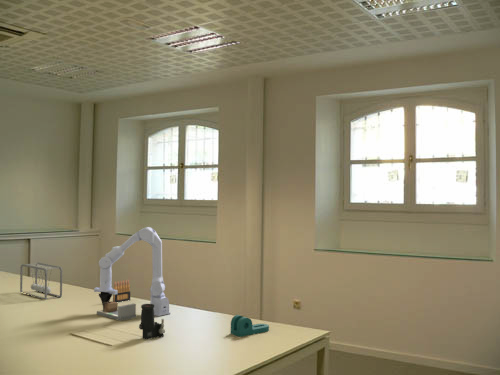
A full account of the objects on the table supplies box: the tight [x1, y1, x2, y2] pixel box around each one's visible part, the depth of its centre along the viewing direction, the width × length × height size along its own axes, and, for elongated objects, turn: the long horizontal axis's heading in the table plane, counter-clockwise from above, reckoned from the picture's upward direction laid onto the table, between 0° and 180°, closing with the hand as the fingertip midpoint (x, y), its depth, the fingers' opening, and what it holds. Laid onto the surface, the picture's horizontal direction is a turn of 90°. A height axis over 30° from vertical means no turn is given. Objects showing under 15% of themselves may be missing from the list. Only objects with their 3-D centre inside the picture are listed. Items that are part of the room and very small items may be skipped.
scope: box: [138, 303, 166, 340], centre depth 224 cm, size 8×14×10 cm
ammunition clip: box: [112, 278, 131, 303], centre depth 297 cm, size 11×2×12 cm, turn 139°
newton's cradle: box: [19, 262, 63, 300], centre depth 311 cm, size 30×10×18 cm, turn 49°
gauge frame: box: [96, 303, 137, 322], centre depth 262 cm, size 20×9×6 cm, turn 50°
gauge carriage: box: [102, 300, 119, 312], centre depth 265 cm, size 5×7×4 cm
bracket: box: [230, 314, 270, 338], centre depth 235 cm, size 18×7×8 cm, turn 128°
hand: (105, 307), depth 268 cm, fingers closed
